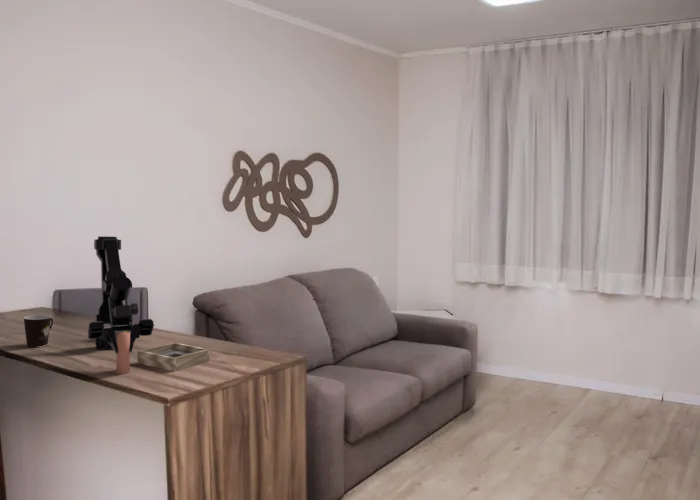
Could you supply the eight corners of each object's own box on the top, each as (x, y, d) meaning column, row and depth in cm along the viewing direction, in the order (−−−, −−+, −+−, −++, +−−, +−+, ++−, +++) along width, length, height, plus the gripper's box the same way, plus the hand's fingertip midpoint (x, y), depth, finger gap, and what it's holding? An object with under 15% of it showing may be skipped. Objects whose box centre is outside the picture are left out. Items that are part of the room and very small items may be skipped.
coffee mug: (30, 349, 212) (31, 320, 211) (18, 345, 217) (18, 316, 216) (64, 344, 221) (64, 316, 221) (51, 340, 226) (51, 313, 226)
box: (209, 361, 207) (209, 349, 207) (173, 371, 193) (174, 358, 193) (174, 353, 215) (174, 342, 215) (137, 363, 201) (137, 350, 201)
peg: (131, 370, 192) (131, 332, 191) (126, 374, 188) (127, 334, 187) (118, 370, 192) (119, 331, 191) (114, 373, 188) (114, 334, 187)
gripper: (89, 295, 187) (93, 339, 178) (153, 293, 196) (160, 335, 187) (86, 316, 195) (89, 359, 186) (148, 313, 204) (154, 355, 195)
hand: (123, 352), depth 188 cm, fingers closed on peg, 4 cm apart
